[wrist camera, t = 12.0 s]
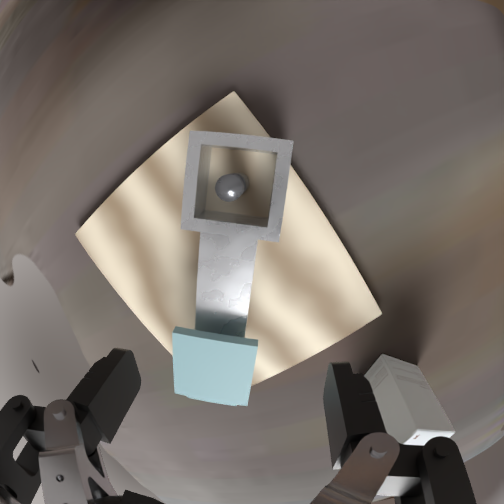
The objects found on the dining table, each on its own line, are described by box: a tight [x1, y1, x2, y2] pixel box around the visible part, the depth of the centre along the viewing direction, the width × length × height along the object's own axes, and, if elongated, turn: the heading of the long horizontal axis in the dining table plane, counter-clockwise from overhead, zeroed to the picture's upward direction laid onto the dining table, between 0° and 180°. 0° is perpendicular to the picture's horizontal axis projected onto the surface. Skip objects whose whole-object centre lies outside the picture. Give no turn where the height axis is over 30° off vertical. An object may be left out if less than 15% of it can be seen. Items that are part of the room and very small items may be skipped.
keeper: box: [172, 326, 258, 406], centre depth 26 cm, size 9×7×7 cm
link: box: [181, 131, 293, 338], centre depth 24 cm, size 19×8×4 cm, turn 173°
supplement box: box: [364, 354, 455, 445], centre depth 25 cm, size 7×7×13 cm
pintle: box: [215, 172, 249, 202], centre depth 22 cm, size 2×2×8 cm
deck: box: [75, 91, 382, 386], centre depth 27 cm, size 22×26×1 cm
